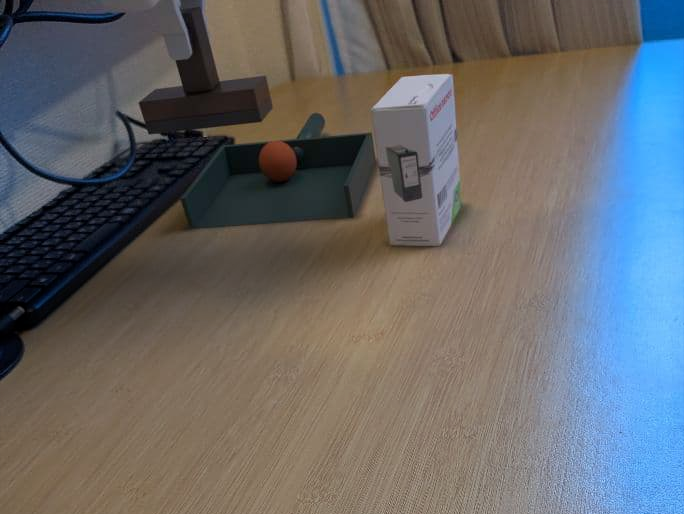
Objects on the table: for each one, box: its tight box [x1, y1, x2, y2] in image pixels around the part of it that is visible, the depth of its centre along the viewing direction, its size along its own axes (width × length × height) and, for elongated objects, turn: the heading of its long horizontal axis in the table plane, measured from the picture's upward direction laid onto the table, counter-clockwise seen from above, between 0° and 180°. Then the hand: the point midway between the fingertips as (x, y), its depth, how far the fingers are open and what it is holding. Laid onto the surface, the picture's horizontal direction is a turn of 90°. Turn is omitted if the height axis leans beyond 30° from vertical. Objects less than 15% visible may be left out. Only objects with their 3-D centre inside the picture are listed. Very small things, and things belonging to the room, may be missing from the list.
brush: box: [138, 7, 274, 135], centre depth 67 cm, size 10×4×8 cm, turn 82°
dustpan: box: [180, 112, 377, 230], centre depth 89 cm, size 26×17×3 cm, turn 171°
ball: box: [259, 140, 297, 182], centre depth 88 cm, size 4×4×4 cm
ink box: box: [370, 73, 462, 247], centre depth 72 cm, size 9×5×12 cm, turn 161°
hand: (191, 50), depth 66 cm, fingers closed on brush, 2 cm apart
